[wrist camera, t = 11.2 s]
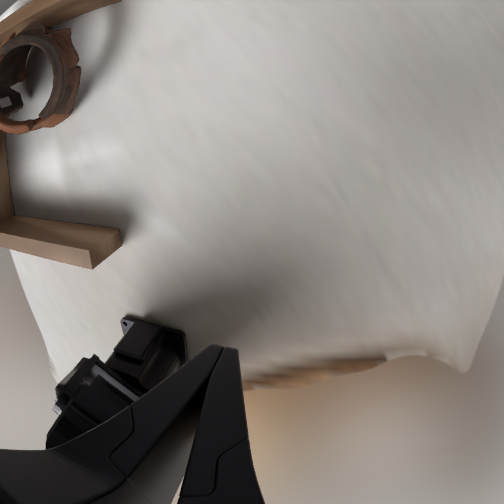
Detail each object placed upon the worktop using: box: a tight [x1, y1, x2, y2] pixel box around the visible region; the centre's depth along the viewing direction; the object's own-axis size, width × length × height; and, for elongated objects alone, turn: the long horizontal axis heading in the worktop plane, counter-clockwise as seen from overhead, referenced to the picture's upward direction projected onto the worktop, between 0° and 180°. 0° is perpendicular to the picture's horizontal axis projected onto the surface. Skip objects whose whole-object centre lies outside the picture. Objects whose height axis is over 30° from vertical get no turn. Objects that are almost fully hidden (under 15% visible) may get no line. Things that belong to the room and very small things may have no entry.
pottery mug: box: [0, 20, 81, 134], centre depth 16 cm, size 12×10×8 cm
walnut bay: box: [0, 0, 121, 270], centre depth 15 cm, size 21×16×9 cm
